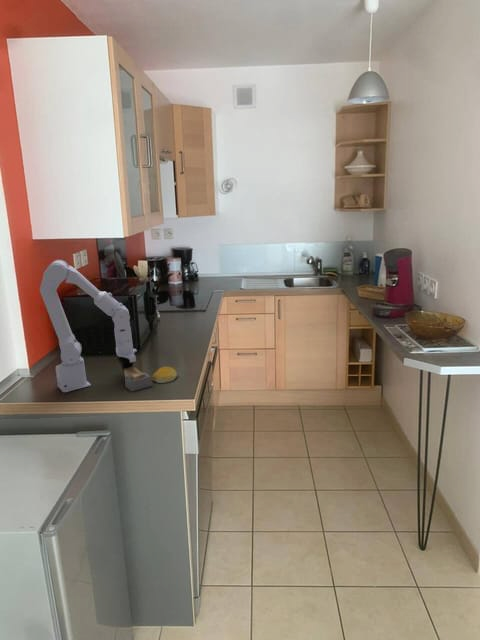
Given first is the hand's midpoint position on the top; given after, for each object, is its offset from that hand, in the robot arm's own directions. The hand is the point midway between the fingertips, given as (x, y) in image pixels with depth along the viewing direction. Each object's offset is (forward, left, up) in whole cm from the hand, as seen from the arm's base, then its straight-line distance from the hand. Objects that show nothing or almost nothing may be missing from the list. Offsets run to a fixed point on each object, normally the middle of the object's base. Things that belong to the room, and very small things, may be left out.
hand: (128, 375), depth 170 cm
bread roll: (+10, -9, -2) cm, 14 cm away
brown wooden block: (0, -6, -1) cm, 6 cm away
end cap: (0, -10, -1) cm, 10 cm away
